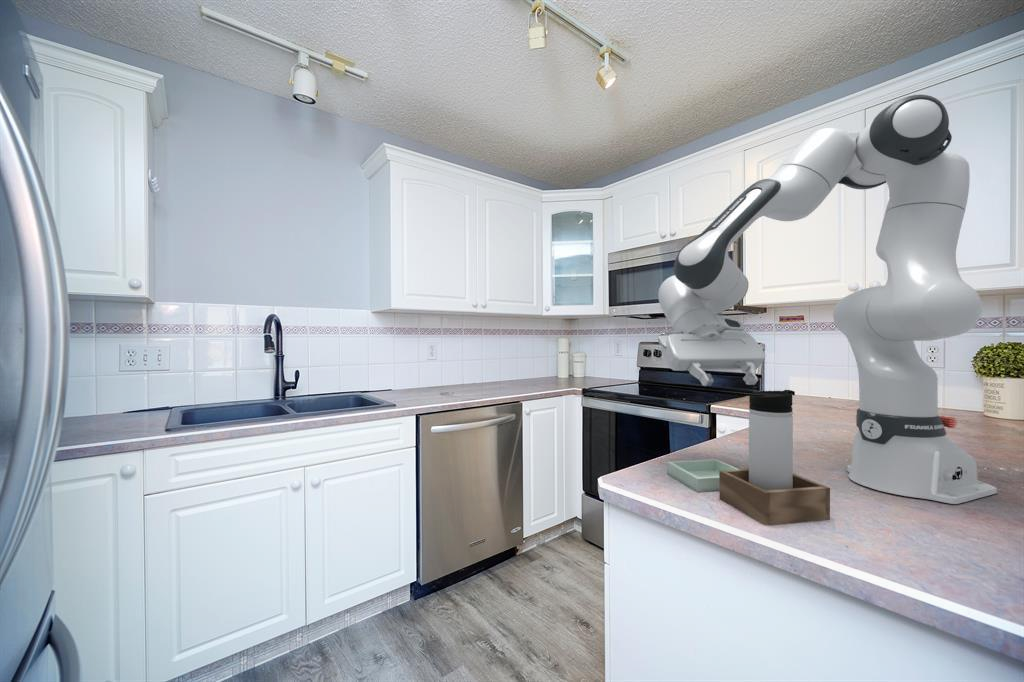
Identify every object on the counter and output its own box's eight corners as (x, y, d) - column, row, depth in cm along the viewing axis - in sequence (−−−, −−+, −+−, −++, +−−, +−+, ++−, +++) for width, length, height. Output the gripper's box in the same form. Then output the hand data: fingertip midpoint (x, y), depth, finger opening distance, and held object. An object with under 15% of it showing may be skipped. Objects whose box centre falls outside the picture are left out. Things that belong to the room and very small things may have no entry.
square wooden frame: (776, 494, 76) (776, 467, 75) (829, 519, 65) (830, 487, 65) (719, 498, 74) (719, 470, 74) (765, 525, 63) (765, 492, 63)
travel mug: (802, 518, 66) (802, 392, 65) (756, 514, 67) (757, 392, 67) (784, 502, 72) (784, 388, 72) (743, 499, 73) (743, 387, 73)
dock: (716, 470, 89) (716, 458, 89) (752, 488, 79) (752, 475, 79) (667, 473, 87) (666, 461, 87) (697, 492, 77) (697, 478, 77)
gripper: (660, 322, 84) (688, 373, 75) (749, 322, 88) (786, 371, 78) (649, 343, 89) (674, 394, 79) (734, 342, 92) (768, 391, 83)
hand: (731, 383), depth 79 cm, fingers open, 8 cm apart
